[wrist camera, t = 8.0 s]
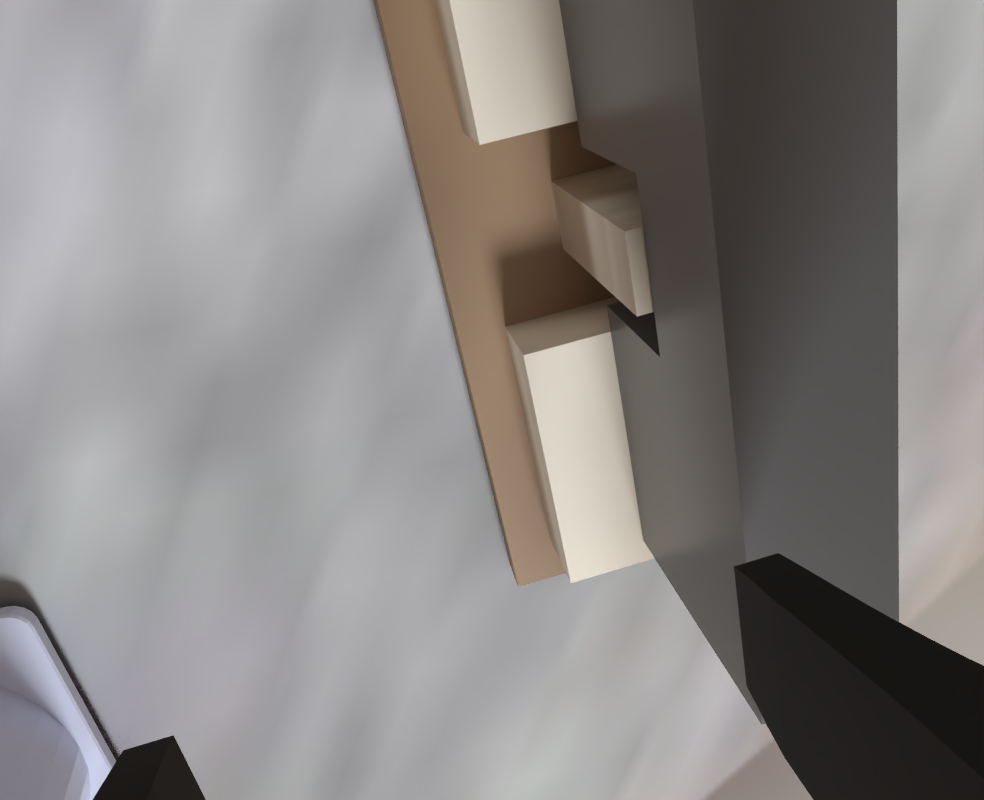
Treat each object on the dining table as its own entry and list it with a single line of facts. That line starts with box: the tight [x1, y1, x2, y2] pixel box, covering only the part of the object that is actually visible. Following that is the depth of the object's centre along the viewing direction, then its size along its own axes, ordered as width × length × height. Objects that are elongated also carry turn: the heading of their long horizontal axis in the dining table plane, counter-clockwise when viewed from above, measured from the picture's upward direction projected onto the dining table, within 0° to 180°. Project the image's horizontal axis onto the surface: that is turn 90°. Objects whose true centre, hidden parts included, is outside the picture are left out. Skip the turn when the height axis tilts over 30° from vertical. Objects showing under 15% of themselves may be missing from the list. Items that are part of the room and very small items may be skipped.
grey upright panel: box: [559, 0, 899, 724], centre depth 14 cm, size 14×3×6 cm, turn 12°
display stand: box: [374, 0, 654, 587], centre depth 16 cm, size 8×17×5 cm, turn 12°
